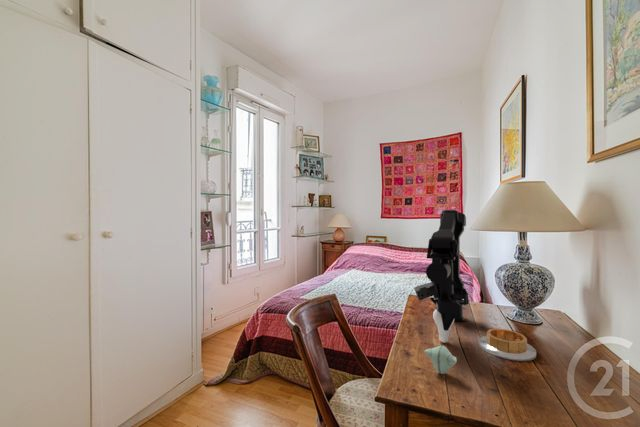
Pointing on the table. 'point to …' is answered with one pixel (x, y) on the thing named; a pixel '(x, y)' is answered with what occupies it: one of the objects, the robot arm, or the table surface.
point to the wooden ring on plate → (507, 345)
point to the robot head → (441, 358)
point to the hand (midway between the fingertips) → (443, 326)
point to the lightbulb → (441, 327)
